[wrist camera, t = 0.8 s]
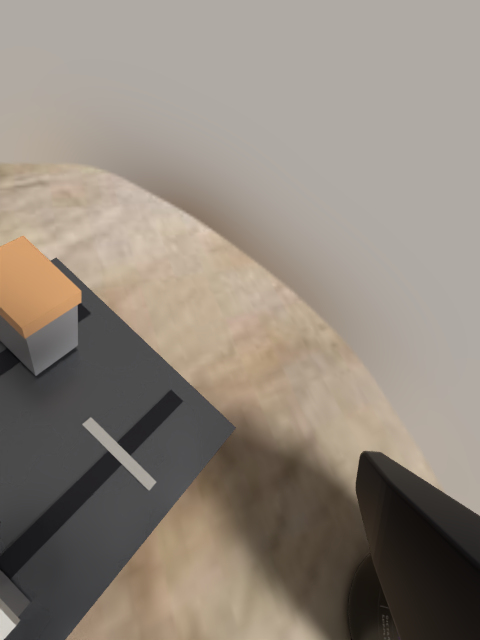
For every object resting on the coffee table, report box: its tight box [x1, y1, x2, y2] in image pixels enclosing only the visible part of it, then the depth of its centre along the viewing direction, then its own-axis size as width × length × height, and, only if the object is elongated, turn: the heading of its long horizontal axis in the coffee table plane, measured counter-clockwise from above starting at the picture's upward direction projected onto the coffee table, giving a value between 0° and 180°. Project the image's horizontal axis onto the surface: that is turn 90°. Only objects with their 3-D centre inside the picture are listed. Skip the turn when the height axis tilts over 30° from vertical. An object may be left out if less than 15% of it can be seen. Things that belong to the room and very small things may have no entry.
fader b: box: [0, 236, 81, 376], centre depth 17 cm, size 3×3×5 cm
